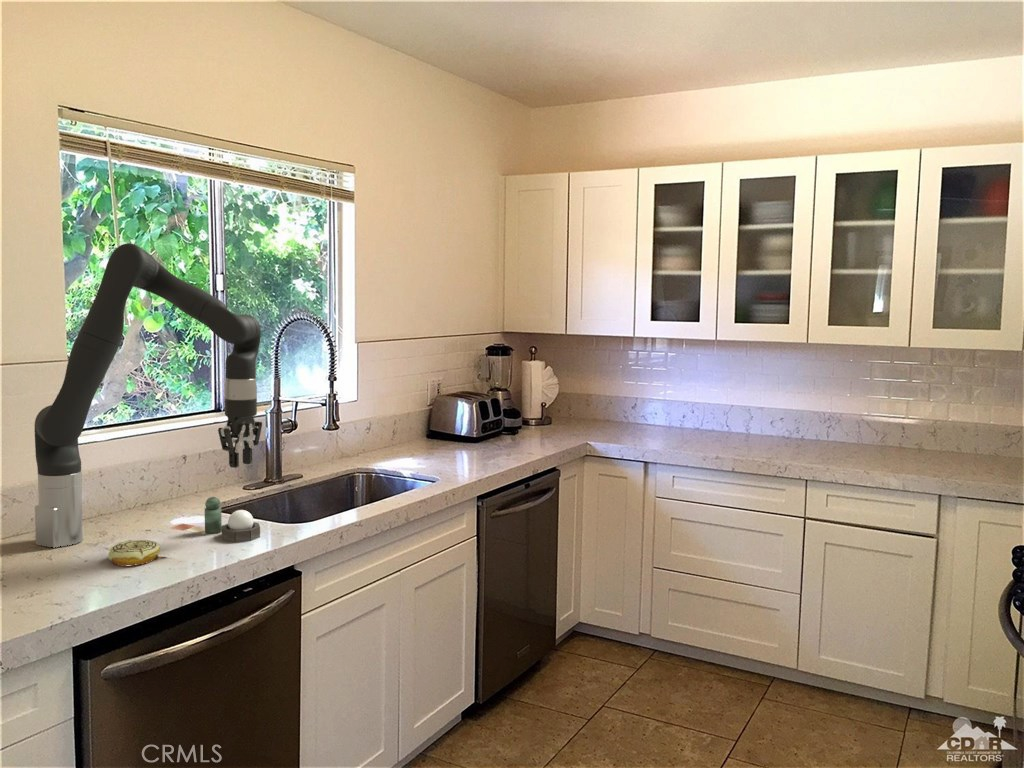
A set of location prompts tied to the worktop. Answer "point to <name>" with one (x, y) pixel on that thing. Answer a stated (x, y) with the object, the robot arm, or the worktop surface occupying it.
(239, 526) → the white ball
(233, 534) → the game board
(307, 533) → the worktop surface
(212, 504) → the pawn
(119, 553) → the decorated donut
